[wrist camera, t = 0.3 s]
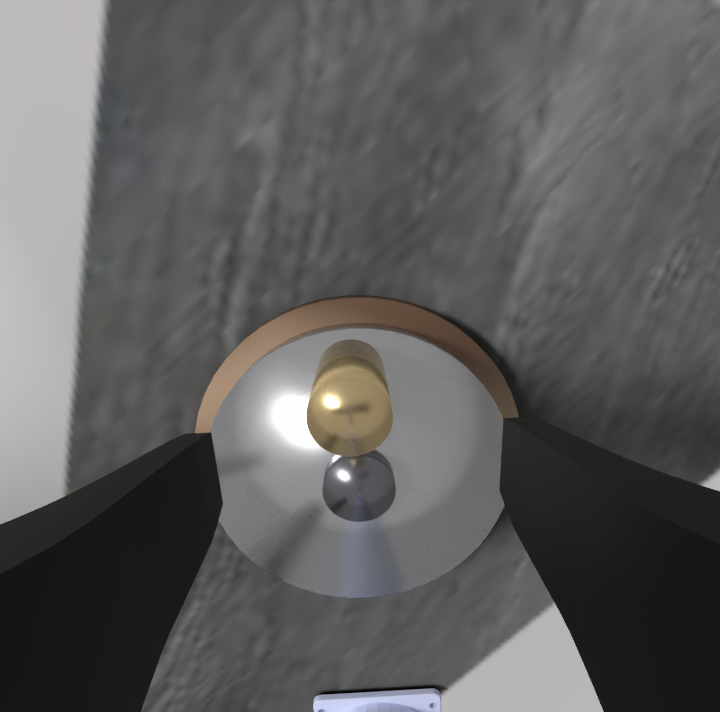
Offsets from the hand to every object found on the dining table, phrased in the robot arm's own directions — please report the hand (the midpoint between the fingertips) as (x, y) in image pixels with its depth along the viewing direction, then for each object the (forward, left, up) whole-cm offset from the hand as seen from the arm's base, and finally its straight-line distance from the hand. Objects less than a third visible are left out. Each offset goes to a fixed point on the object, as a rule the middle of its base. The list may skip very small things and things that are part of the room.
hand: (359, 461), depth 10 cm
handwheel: (-5, 0, -9) cm, 10 cm away
